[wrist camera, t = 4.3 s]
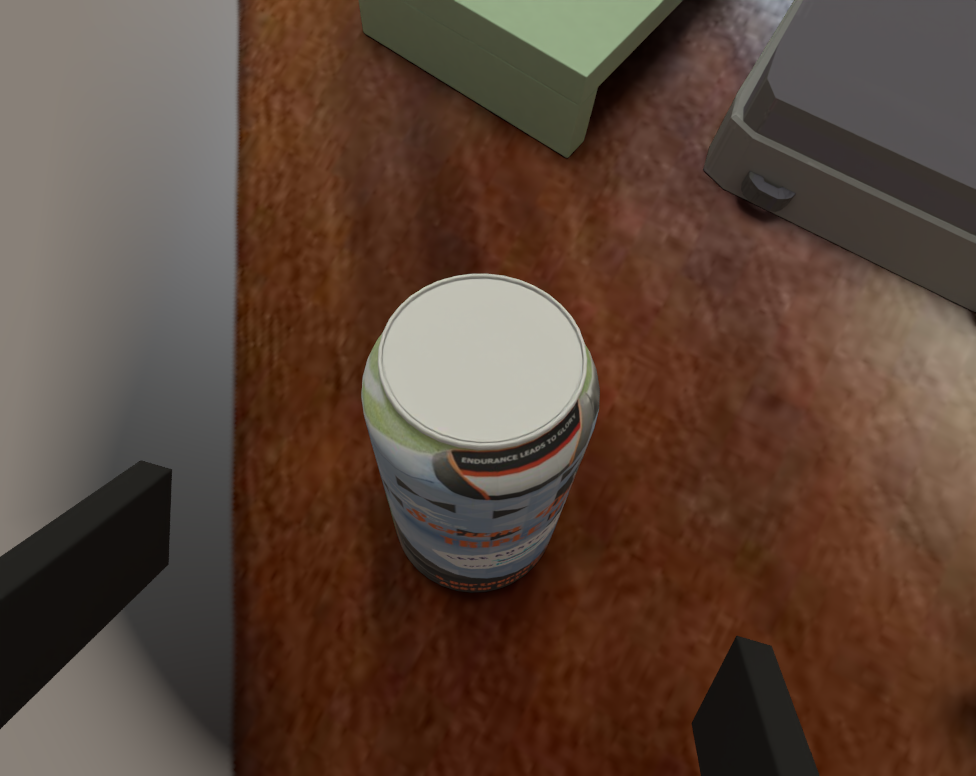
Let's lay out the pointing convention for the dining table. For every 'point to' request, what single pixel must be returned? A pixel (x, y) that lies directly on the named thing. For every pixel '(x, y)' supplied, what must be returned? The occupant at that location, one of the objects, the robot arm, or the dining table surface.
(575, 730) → the dining table surface
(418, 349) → the beverage can
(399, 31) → the green flat box
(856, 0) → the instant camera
